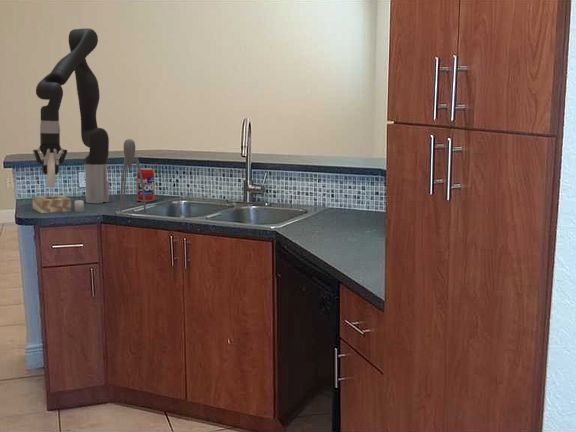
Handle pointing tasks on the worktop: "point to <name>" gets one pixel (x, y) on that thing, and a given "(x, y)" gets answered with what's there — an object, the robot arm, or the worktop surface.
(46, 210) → the birch socket block
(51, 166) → the tall ivory dowel
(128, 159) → the citrus juicer
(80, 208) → the short grey dowel
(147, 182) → the soda can
